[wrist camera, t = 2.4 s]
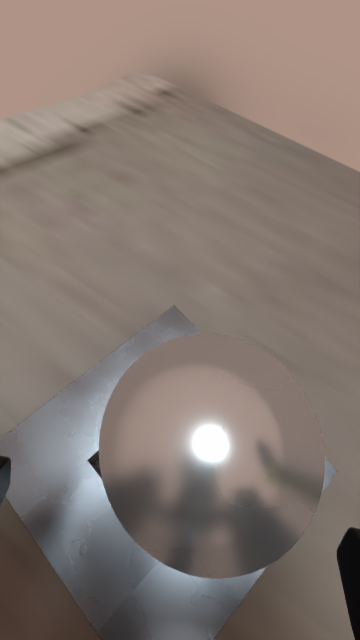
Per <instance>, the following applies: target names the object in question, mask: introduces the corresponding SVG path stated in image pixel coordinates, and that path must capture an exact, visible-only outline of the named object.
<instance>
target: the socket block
mask: <svg viewBox="0 0 360 640" xmlns="http://www.w3.org/2000/svg"><path fill="white" fill-rule="evenodd" d="M200 333H201V332H200V331H199V330H198V329H197V328H196V327H195V326H194V325H193V324H192V323H191V322H190V321H189V320H188V318H187V317H186V316H185V315H184V314H183V313H182V312H181V311H180V310H179V309H178V308H177V307H176V306H175V305H173V306H172V307H171V308H170V309H168V310H167V311H166V312H164V313H163V314H162V315H160V316H159V317H158V318H157V319H155V320H154V321H153V322H151V323H150V324H149V325H147V326H146V327H145V328H143V329H142V330H141V331H140V332H138V333H137V334H136V335H134V336H133V337H132V338H130V339H129V340H128V341H127V342H125V343H124V344H123V345H121V346H120V347H119V348H117V349H116V350H115V351H114V352H112V353H111V354H110V355H108V356H107V357H106V358H104V359H103V360H102V361H101V362H99V363H98V364H97V365H95V366H94V367H93V368H91V369H90V370H89V371H88V372H86V373H85V374H84V375H82V376H81V377H80V378H78V379H77V380H76V381H74V382H73V383H72V384H71V385H69V386H68V387H67V388H65V389H64V390H63V391H61V392H60V393H59V394H58V395H56V396H55V397H54V398H52V399H51V400H50V401H48V402H47V403H46V404H45V405H43V406H42V407H41V408H39V409H38V410H37V411H35V412H34V413H33V414H32V415H30V416H29V417H28V418H26V419H25V420H24V421H22V422H21V423H20V424H19V425H17V426H16V427H15V428H13V429H12V430H11V431H9V432H8V433H7V434H5V435H4V436H3V437H2V438H0V455H1V456H6V457H9V458H10V459H11V480H10V486H9V489H8V491H7V493H6V495H5V496H6V498H7V499H8V501H9V502H10V504H11V505H12V507H13V508H14V510H15V511H16V513H17V514H18V516H19V517H20V519H21V520H22V522H23V523H24V525H25V526H26V528H27V529H28V531H29V532H30V534H31V535H32V537H33V538H34V540H35V541H36V543H37V544H38V546H39V547H40V549H41V550H42V552H43V553H44V555H45V556H46V558H47V559H48V561H49V562H50V564H51V565H52V567H53V568H54V570H55V571H56V573H57V574H58V576H59V577H60V579H61V580H62V582H63V583H64V585H65V586H66V588H67V589H68V591H69V592H70V594H71V595H72V597H73V598H74V600H75V601H76V603H77V604H78V606H79V607H80V609H81V610H82V612H83V613H84V615H85V616H86V618H87V619H88V621H89V622H90V624H91V625H92V627H93V628H94V630H95V631H96V633H97V634H98V636H99V637H100V639H101V640H213V639H214V638H215V636H216V635H217V634H218V632H219V631H220V629H221V628H222V627H223V625H224V624H225V623H226V621H227V620H228V619H229V617H230V616H231V615H232V613H233V612H234V611H235V609H236V608H237V606H238V605H239V604H240V602H241V601H242V600H243V598H244V597H245V596H246V594H247V593H248V592H249V590H250V589H251V588H252V586H253V585H254V583H255V582H256V581H257V579H258V578H259V577H260V575H261V574H262V573H263V571H264V570H265V569H266V567H265V568H262V569H260V570H258V571H255V572H253V573H251V574H247V575H243V576H238V577H234V578H222V579H213V578H202V577H197V576H193V575H189V574H185V573H182V572H179V571H177V570H175V569H173V568H170V567H168V566H166V565H164V564H163V563H161V562H160V561H158V560H156V559H155V558H153V557H152V556H150V555H149V554H148V553H147V552H146V551H145V550H143V549H142V548H141V547H140V546H139V545H138V544H137V543H136V542H135V541H134V540H133V539H132V537H131V536H130V535H129V534H128V533H127V532H126V531H125V529H124V527H123V526H122V524H121V523H120V521H119V520H118V518H117V517H116V515H115V513H114V511H113V509H112V507H111V504H110V502H109V500H108V498H107V494H106V491H105V488H104V485H103V482H102V476H101V473H100V471H99V470H98V469H97V467H96V466H95V465H94V464H93V461H94V460H95V459H96V458H98V457H99V435H100V428H101V423H102V418H103V414H104V411H105V408H106V405H107V402H108V400H109V398H110V396H111V394H112V392H113V390H114V388H115V386H116V385H117V383H118V382H119V380H120V379H121V377H122V376H123V374H124V373H125V372H126V371H127V370H128V369H129V367H130V366H131V365H132V364H133V363H134V362H135V361H136V360H138V359H139V358H140V357H141V356H142V355H144V354H145V353H146V352H148V351H149V350H151V349H152V348H154V347H156V346H158V345H160V344H162V343H163V342H166V341H169V340H171V339H174V338H177V337H181V336H185V335H191V334H200ZM336 473H337V470H336V469H335V468H334V467H333V466H332V465H331V464H330V463H329V462H328V461H327V459H326V458H325V475H324V481H323V488H322V492H323V490H324V489H325V487H326V486H327V485H328V483H329V482H330V481H331V479H332V478H333V477H334V475H335V474H336Z"/></svg>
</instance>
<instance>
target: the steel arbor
mask: <svg viewBox="0 0 360 640" xmlns="http://www.w3.org/2000/svg"><path fill="white" fill-rule="evenodd" d="M99 465H100V471H101V476H102V482H103V485H104V488H105V491H106V494H107V498H108V500H109V502H110V504H111V507H112V509H113V511H114V513H115V515H116V517H117V518H118V520H119V521H120V523H121V524H122V526H123V527H124V529H125V531H126V532H127V533H128V534H129V535H130V536H131V537H132V539H133V540H134V541H135V542H136V543H137V544H138V545H139V546H140V547H141V548H142V549H143V550H145V551H146V552H147V553H148V554H149V555H150V556H152V557H153V558H155V559H156V560H158V561H160V562H161V563H163V564H164V565H166V566H168V567H170V568H173V569H175V570H177V571H179V572H182V573H185V574H189V575H193V576H197V577H202V578H213V579H222V578H234V577H238V576H243V575H247V574H251V573H253V572H255V571H258V570H260V569H262V568H265V567H267V566H268V565H270V564H271V563H273V562H274V561H276V560H278V559H279V558H280V557H282V556H283V555H284V554H285V553H286V552H287V551H288V550H290V549H291V548H292V547H293V545H294V544H295V543H296V542H297V541H298V540H299V538H300V537H301V536H302V535H303V533H304V532H305V530H306V528H307V527H308V525H309V523H310V522H311V520H312V518H313V515H314V513H315V511H316V509H317V506H318V503H319V499H320V496H321V493H322V488H323V481H324V475H325V453H324V442H323V437H322V432H321V428H320V425H319V422H318V419H317V415H316V413H315V411H314V408H313V406H312V404H311V402H310V400H309V398H308V396H307V395H306V393H305V391H304V389H303V388H302V386H301V385H300V384H299V382H298V381H297V380H296V378H295V377H294V376H293V375H292V374H291V373H290V372H289V371H288V369H287V368H286V367H285V366H284V365H283V364H281V363H280V362H279V361H278V360H277V359H276V358H274V357H273V356H272V355H270V354H269V353H267V352H266V351H264V350H263V349H261V348H259V347H257V346H255V345H253V344H251V343H249V342H246V341H244V340H241V339H238V338H235V337H231V336H227V335H220V334H207V333H200V334H191V335H185V336H181V337H177V338H174V339H171V340H169V341H166V342H163V343H162V344H160V345H158V346H156V347H154V348H152V349H151V350H149V351H148V352H146V353H145V354H144V355H142V356H141V357H140V358H139V359H138V360H136V361H135V362H134V363H133V364H132V365H131V366H130V367H129V369H128V370H127V371H126V372H125V373H124V374H123V376H122V377H121V379H120V380H119V382H118V383H117V385H116V386H115V388H114V390H113V392H112V394H111V396H110V398H109V400H108V402H107V405H106V408H105V411H104V414H103V418H102V423H101V428H100V435H99Z"/></svg>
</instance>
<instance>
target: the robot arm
mask: <svg viewBox="0 0 360 640" xmlns="http://www.w3.org/2000/svg"><path fill="white" fill-rule="evenodd" d="M10 480H11V459H10V458H9V457H6V456H1V455H0V505H1V503H2V501H3V499H4V497H5V495H6V493H7V491H8V489H9V486H10ZM337 561H338V566H339V571H340V575H341V580H342V585H343V589H344V594H345V599H346V604H347V608H348V613H349V618H350V622H351V626H352V630H353V634H354V637H355V640H360V529H358V528H353V527H350V528H348V529H347V530H346V532H345V534H344V536H343V538H342V540H341V542H340V544H339V546H338V548H337Z"/></svg>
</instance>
